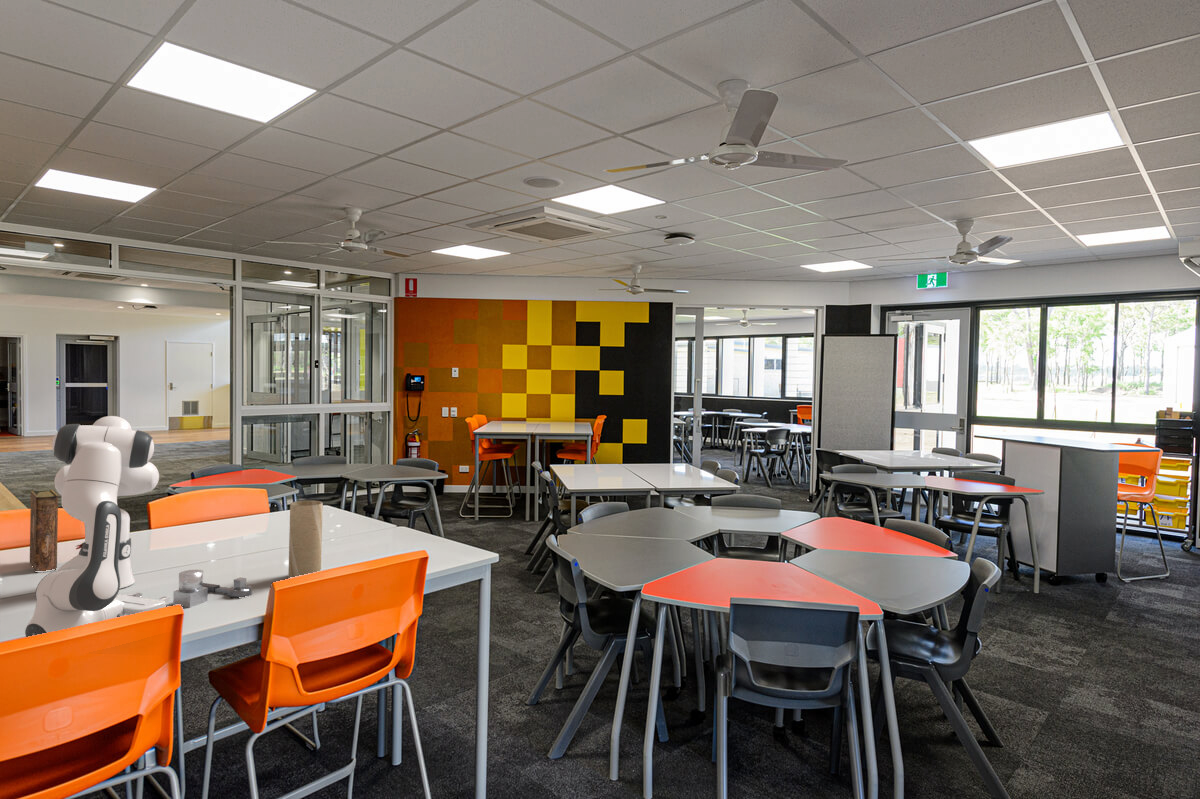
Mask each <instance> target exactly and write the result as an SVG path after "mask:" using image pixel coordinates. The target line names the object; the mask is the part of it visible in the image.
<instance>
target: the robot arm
mask: <svg viewBox="0 0 1200 799" xmlns="http://www.w3.org/2000/svg"><path fill="white" fill-rule="evenodd" d="M51 446H52V451H53V457H55V458H56V459H57V460H58V461H61V462H63V463H65V464H66V465H64V466H62V467H61V468H60V469H59V470H58V471H57V473H56V475H55V477H54V481H53V482H54V488H55V490H56V492H57V494H58V495H60V496H61V506H62V508H63V510H64V511H65V512H66V513H67V514H68V515H69V516H70V517H71V518H74V519H75V520H78V521H80V522H82V523H83V524H84V542H81V544H80V543H79V544H77V545H75V547H76V548H75V550H79V549H80V550H79V551H78V554H77V555H75V557H73V558H72V559H70V560H68V561H67V562H66V563H64V564H63V565H62V566H60V567H59V568H57V570H54V571H50V572H49V573H48V574H46V575H45V576H44V577H43V578H41V580H40V581H39V583H38V584H37V586H36V589H35V601H36V603H35V608H34V613H33V615H32V618H31V619H30V621H28V623H27V625H26V626H25V631H24V633H25V634H24V635H25V638H26V637H28V636H32V635H37V634H42V633H47V632H52V631H58V630H62V629H67V628H71V627H76V626H80V625H84V624H88V623H93V622H97V621H102V620H105V619H110V618H115V617H120V616H124V615H130V614H135V613H139V612H143V611H149V610H154V609H158V608H163V607H166V608H167V605H168V604H170V601H171V600H170V597H169V596H162V597H159V600H158V599H155V598H154V599H152V598H146V597H143V593H142V592H135V593H130V594H119V592H120V589H123V588H127V587H129V586H132V585H133V584H134V583H136V580H135V577H134V574H133V570H132V566H131V565H132V564H131V554H132V553H131V552H132V538H131V537H130V531H131V530H130V529H131V528H130V527H131V525H130V524H131V523H130V522H131V518H130V514H129V513H128V512H127V511H126V510H125V509H122V508H120V507H119V505H118V497H127V496H128V497H129V496H136V495H141V494H146V493H150V492H152V491H153V490H154V489H155V488H156V486H157V485H158V483H159V481H160V473H159V470H158V468H157V466H155V464H153V463H152V462H150V460H151V459H152V457H153V455H154V452H155V443H154V441H153V437H152V436H151V434H149V433H148V432H145V431H143V430H139V429H137V430H134V429H132V426H131V424H130V423H129V422H128V420H126V419H125V418H123V417H120V416H117V415H107V416H103V417H100V418H99V419H97V420H96V421H95V422H94V423H93V424H91V425H90V424H89V425H86V424H85V425H84V424H82V425H81V424H80V423H71V424H70V423H69V424H64V426H61V427H60V428H59V429H58V431H57V432H56V433H55V435H54V436H53V439H52V444H51Z"/></svg>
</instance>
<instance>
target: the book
mask: <svg viewBox="0 0 1200 799" xmlns="http://www.w3.org/2000/svg"><path fill="white" fill-rule="evenodd" d="M58 517H59V494H58V493H56V492H55V491H54V490H53V489H50V490H42V491H33V490H31V491H30V520H29V524H30V525H29V526H30V527H29V530H30V531H29V564H30V563H31V564H32V566H33V568H34V570H35V571H46V570H52V569H56V568H57V569H58V530H59V528H58V527H59V526H58V524H59V523H58V522H59V521H58V520H59V518H58ZM31 564H30V565H31ZM32 566H31V567H32ZM33 568H32V569H33ZM34 570H33V571H34ZM35 571H34V572H35Z"/></svg>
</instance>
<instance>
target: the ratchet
mask: <svg viewBox="0 0 1200 799" xmlns="http://www.w3.org/2000/svg"><path fill="white" fill-rule="evenodd" d="M203 587H208V593H210V592H212V593H211V594H219V593H224V594H223V595H227V594H228V595H227V597H230V598H229V599H233V598H237V599H240V598H239V597H244V598H246V597H245V596H248V597H250V596H252V594H253V592H252V586H251V585H247V578H246V577H240V576H239V577H237V578H235V579H233V586H231V587H225V586H221V585H220V584H214V583H213V584H212V583H207V582H203ZM249 595H250V596H249Z"/></svg>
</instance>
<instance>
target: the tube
mask: <svg viewBox="0 0 1200 799" xmlns="http://www.w3.org/2000/svg"><path fill="white" fill-rule="evenodd" d="M323 504H324V503H323V501H320V500H309V499H308V500H299V501H293V502H290V504H289V533H288V534H289V538H288V540H289V542H288V572H287V573H288V574H287V576H288V578H287V579H289V578H290V577H295V576H299V575H304V574H308V573H313V572H317V571H320V570H321V571H322V548H323V547H322V544H323V543H322V542H323V512H324V511H323Z"/></svg>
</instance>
